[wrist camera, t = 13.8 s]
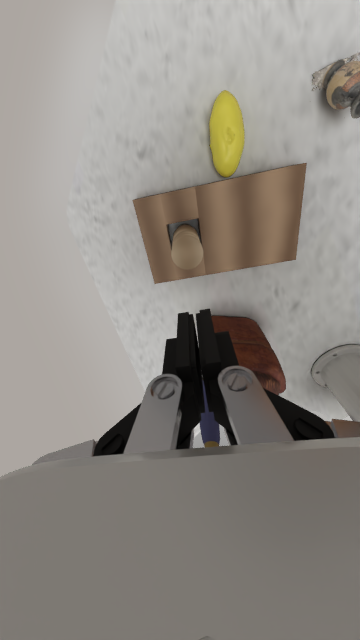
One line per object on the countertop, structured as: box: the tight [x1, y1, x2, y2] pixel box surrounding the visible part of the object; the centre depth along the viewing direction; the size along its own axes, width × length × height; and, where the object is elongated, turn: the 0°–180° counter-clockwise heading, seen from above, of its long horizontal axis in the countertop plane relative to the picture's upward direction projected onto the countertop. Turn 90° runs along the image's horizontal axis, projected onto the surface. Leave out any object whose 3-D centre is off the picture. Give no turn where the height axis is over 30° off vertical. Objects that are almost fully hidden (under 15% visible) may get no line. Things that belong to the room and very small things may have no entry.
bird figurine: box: [310, 53, 360, 118], centre depth 23 cm, size 5×5×6 cm
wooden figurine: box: [211, 316, 286, 395], centre depth 35 cm, size 12×6×18 cm, turn 85°
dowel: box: [171, 224, 203, 269], centre depth 28 cm, size 4×4×11 cm
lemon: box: [209, 90, 244, 177], centre depth 25 cm, size 4×8×4 cm, turn 6°
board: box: [133, 163, 307, 284], centre depth 31 cm, size 22×12×3 cm, turn 100°
